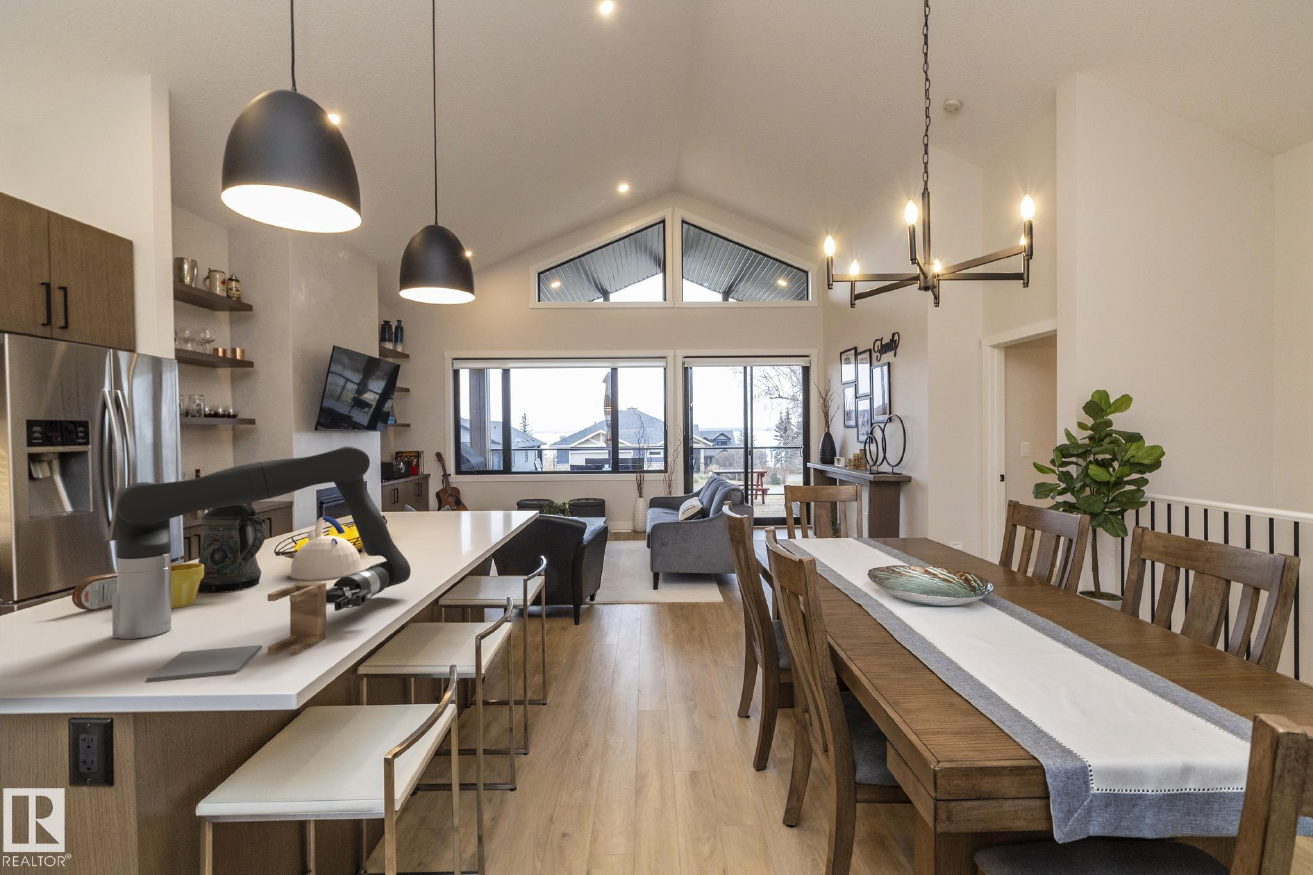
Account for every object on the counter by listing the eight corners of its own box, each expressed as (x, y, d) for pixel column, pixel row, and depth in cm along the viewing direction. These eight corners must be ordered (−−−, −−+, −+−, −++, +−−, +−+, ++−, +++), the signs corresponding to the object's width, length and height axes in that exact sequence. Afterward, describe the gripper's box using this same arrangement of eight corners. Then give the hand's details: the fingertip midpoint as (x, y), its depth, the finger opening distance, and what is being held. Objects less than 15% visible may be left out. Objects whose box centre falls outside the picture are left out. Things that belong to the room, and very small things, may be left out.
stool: (299, 637, 134) (299, 582, 134) (326, 638, 134) (326, 582, 134) (267, 654, 124) (267, 594, 124) (296, 654, 124) (296, 594, 124)
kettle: (341, 563, 213) (341, 510, 212) (374, 571, 200) (374, 515, 200) (277, 574, 196) (277, 517, 196) (309, 583, 184) (309, 522, 184)
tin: (140, 598, 166) (140, 567, 166) (148, 600, 165) (148, 568, 165) (70, 613, 152) (70, 579, 152) (78, 615, 151) (78, 580, 151)
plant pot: (211, 602, 162) (211, 565, 162) (163, 612, 153) (163, 572, 153) (193, 597, 168) (193, 561, 168) (146, 606, 159) (146, 568, 159)
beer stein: (206, 581, 186) (206, 498, 186) (279, 577, 191) (279, 496, 191) (181, 595, 170) (180, 504, 170) (261, 590, 175) (261, 501, 175)
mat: (146, 681, 110) (146, 677, 110) (181, 654, 124) (181, 651, 124) (237, 672, 114) (237, 669, 114) (261, 647, 128) (261, 644, 128)
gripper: (328, 572, 152) (285, 588, 136) (385, 572, 151) (348, 589, 135) (328, 602, 152) (285, 622, 136) (385, 603, 151) (348, 623, 135)
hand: (317, 605), depth 136 cm, fingers open, 8 cm apart
